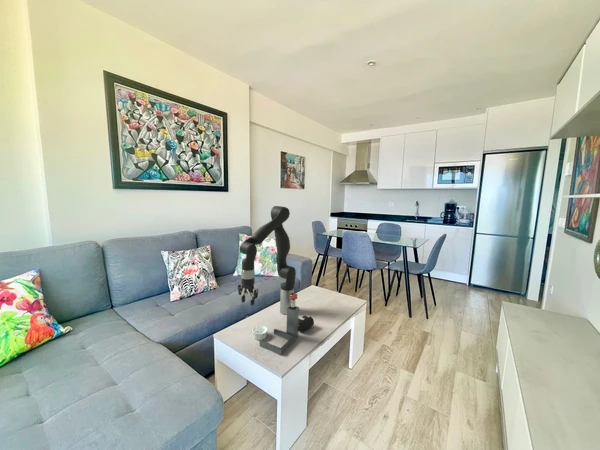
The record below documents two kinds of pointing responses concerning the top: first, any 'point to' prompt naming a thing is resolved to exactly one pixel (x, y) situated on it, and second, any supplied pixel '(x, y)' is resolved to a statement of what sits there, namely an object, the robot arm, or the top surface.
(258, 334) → the ramekin
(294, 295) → the ram plunger
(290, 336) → the press
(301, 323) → the end cap
